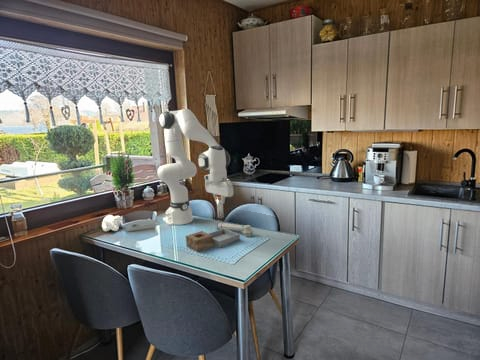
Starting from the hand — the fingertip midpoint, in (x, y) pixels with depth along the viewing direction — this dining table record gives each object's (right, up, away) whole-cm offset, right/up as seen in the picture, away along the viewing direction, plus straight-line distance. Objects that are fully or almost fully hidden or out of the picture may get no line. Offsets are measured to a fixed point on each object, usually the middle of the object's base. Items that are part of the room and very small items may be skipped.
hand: (219, 202), depth 167 cm
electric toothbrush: (+8, -19, +16) cm, 26 cm away
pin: (0, -8, +2) cm, 8 cm away
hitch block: (-10, -23, -3) cm, 25 cm away
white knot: (-70, -19, +29) cm, 78 cm away
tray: (+1, -21, +4) cm, 22 cm away
